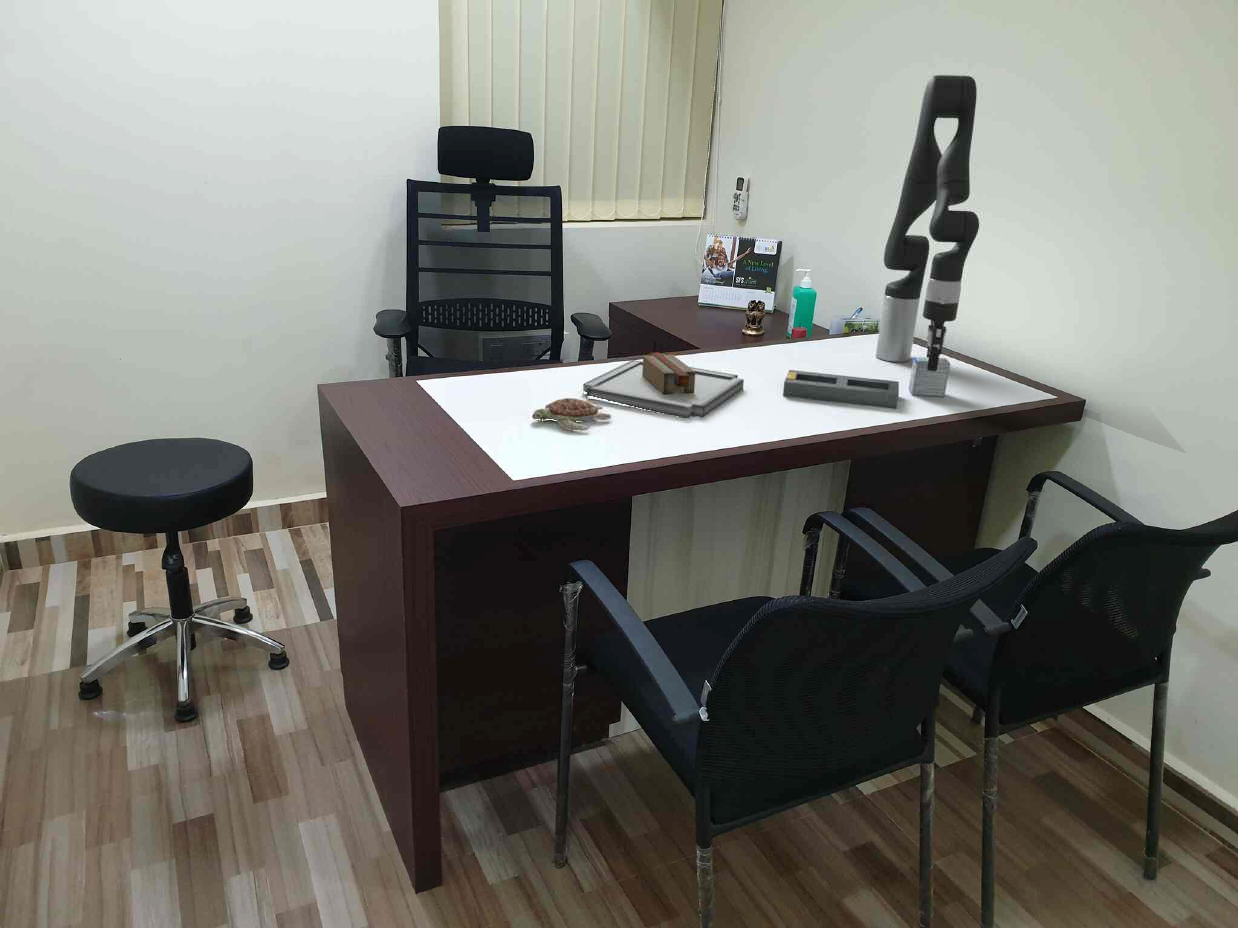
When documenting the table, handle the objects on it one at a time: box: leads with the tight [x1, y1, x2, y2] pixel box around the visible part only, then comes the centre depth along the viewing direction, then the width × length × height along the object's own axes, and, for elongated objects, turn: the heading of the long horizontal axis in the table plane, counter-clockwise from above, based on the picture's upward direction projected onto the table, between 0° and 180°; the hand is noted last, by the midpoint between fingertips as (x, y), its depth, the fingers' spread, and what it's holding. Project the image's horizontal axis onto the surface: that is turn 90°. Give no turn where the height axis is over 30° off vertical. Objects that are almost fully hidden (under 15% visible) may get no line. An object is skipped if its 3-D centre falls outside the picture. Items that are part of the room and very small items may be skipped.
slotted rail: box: [782, 369, 900, 410], centre depth 217 cm, size 11×26×4 cm, turn 74°
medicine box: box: [908, 356, 951, 398], centre depth 220 cm, size 8×4×9 cm, turn 84°
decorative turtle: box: [532, 397, 612, 431], centre depth 194 cm, size 18×17×5 cm
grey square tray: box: [582, 352, 745, 419], centre depth 214 cm, size 30×30×8 cm
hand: (931, 366), depth 219 cm, fingers open, 8 cm apart
